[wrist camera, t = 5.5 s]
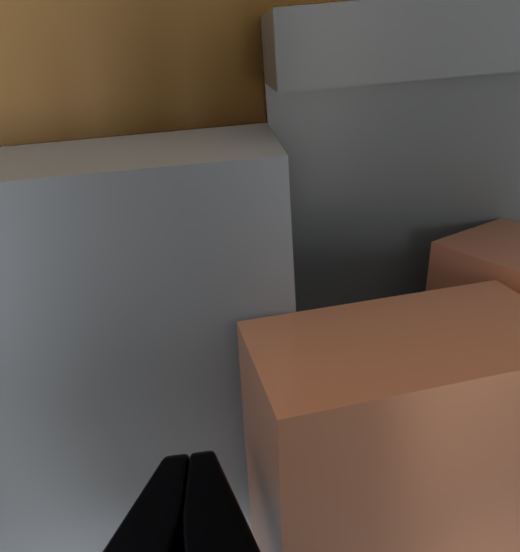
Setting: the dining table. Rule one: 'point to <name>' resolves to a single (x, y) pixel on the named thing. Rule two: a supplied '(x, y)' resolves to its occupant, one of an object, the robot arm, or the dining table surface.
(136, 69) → the dining table surface
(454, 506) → the tile
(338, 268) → the tray
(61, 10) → the dining table surface
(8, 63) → the dining table surface
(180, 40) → the dining table surface
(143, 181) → the light grey slab
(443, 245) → the tile
